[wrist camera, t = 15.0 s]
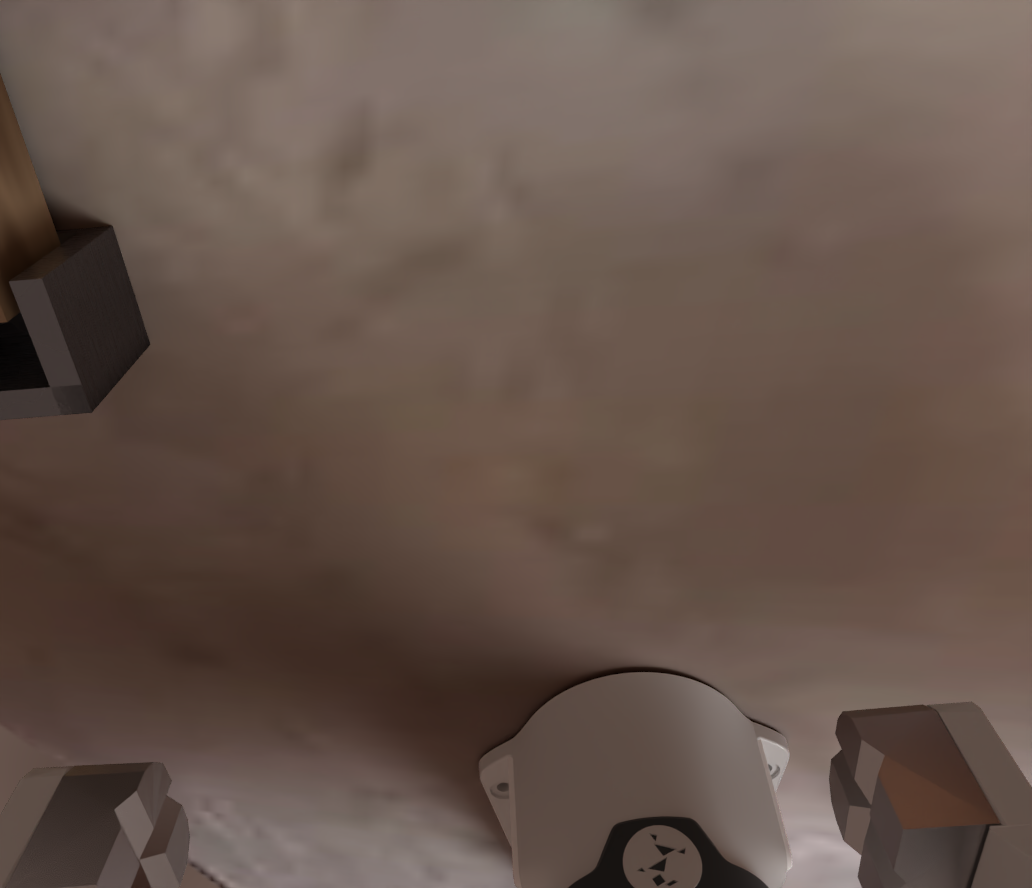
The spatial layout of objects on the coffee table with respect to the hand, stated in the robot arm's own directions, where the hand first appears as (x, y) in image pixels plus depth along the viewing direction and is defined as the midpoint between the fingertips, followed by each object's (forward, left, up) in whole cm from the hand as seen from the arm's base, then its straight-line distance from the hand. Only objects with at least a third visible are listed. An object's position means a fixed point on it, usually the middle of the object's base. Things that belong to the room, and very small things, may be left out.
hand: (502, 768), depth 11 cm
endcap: (-3, +20, -29) cm, 35 cm away
